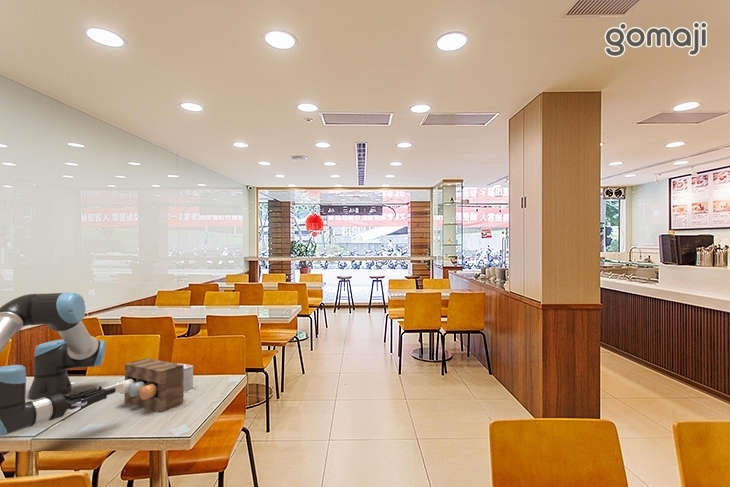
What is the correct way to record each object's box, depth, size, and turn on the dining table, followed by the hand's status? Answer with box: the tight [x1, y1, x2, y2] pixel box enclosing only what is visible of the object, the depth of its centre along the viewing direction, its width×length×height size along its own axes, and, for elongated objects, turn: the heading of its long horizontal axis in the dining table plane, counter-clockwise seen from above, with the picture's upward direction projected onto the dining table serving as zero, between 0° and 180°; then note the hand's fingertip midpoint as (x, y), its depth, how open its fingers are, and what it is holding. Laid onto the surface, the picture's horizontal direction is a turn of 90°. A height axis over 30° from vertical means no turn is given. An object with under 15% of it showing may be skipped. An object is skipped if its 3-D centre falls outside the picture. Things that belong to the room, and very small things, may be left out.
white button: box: [118, 379, 136, 395], centre depth 162 cm, size 5×8×5 cm, turn 153°
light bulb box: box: [175, 362, 194, 393], centre depth 180 cm, size 11×7×11 cm, turn 67°
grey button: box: [128, 381, 147, 397], centre depth 159 cm, size 5×8×5 cm, turn 153°
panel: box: [124, 357, 184, 413], centre depth 163 cm, size 24×10×16 cm, turn 63°
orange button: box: [139, 384, 158, 400], centre depth 155 cm, size 5×8×5 cm, turn 153°
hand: (122, 386), depth 144 cm, fingers closed
